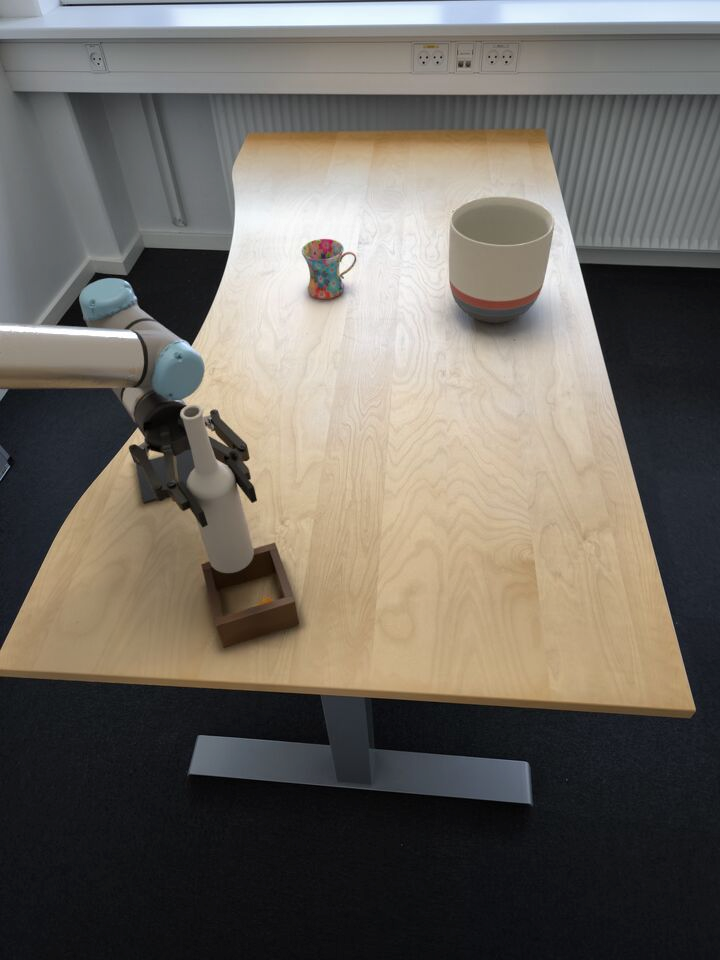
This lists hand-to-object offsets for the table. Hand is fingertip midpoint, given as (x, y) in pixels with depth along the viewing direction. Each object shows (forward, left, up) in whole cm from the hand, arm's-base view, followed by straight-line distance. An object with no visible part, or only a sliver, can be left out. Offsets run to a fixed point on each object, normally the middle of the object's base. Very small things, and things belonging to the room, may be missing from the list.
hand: (228, 506), depth 93 cm
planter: (+67, +57, -23) cm, 91 cm away
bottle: (-1, +5, -16) cm, 16 cm away
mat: (-7, +33, -23) cm, 41 cm away
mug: (+37, +79, -23) cm, 90 cm away
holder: (0, +1, -23) cm, 23 cm away
